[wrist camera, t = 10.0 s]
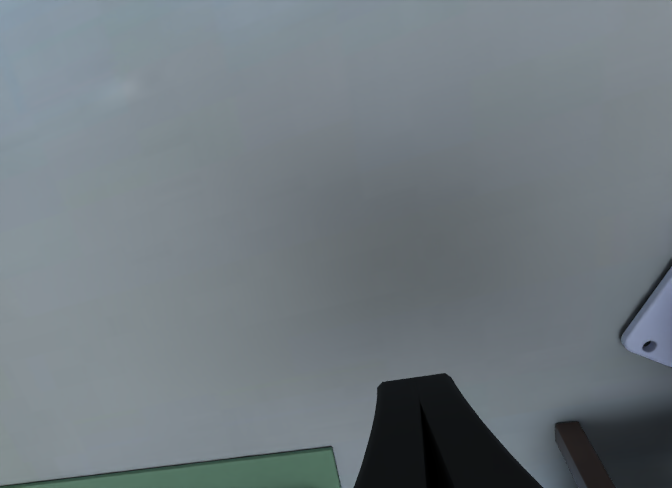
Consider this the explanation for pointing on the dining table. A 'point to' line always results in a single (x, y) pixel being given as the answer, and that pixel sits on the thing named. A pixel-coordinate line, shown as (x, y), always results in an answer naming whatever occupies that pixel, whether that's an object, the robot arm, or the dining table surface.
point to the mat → (221, 474)
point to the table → (581, 457)
